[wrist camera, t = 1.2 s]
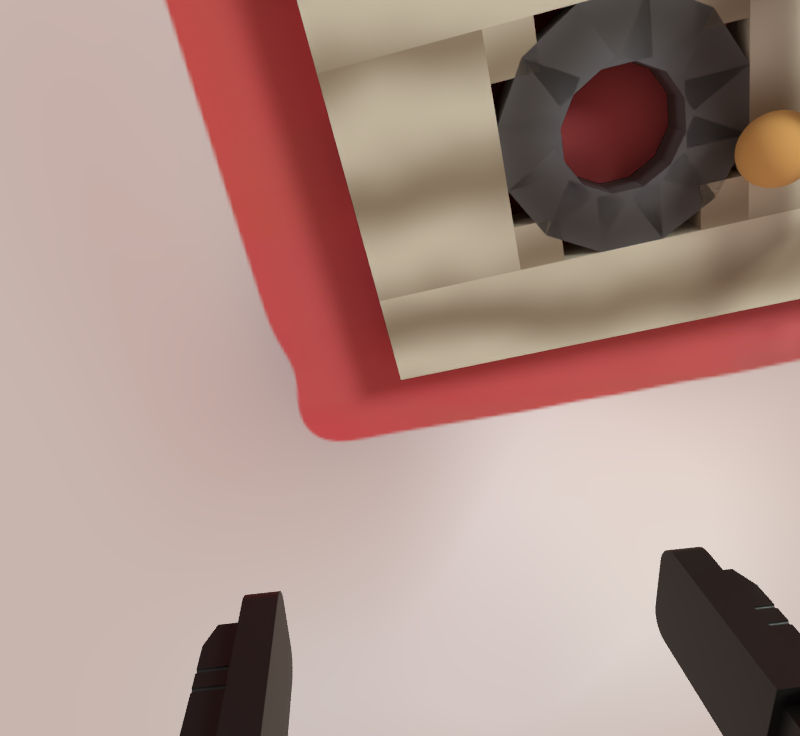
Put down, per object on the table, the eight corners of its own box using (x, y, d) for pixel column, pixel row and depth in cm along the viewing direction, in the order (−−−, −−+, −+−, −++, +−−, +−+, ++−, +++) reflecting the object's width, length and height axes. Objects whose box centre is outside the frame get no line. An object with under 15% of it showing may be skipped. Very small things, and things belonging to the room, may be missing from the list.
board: (267, -138, 29) (254, -152, 27) (933, -349, 25) (982, -384, 23) (401, 360, 41) (401, 379, 38) (871, 263, 37) (900, 278, 35)
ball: (721, 116, 31) (755, 125, 28) (797, 98, 31) (839, 105, 28) (722, 187, 33) (754, 203, 30) (794, 170, 32) (834, 185, 29)
